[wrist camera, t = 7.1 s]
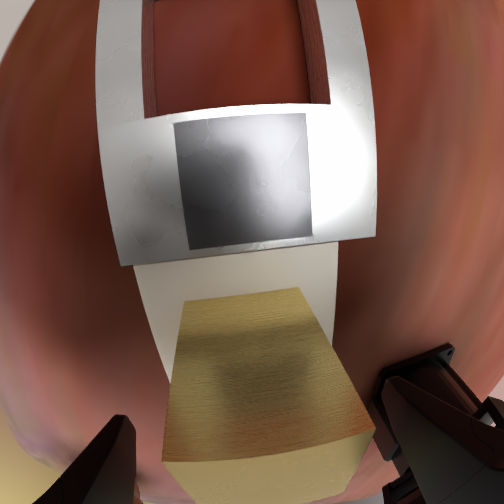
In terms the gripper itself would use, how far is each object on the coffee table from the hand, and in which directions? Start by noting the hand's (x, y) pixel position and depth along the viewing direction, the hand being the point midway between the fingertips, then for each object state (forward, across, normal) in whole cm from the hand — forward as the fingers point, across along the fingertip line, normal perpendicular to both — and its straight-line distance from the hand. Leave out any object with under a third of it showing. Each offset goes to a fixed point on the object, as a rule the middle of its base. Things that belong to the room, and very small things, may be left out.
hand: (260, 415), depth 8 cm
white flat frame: (+5, 0, -11) cm, 12 cm away
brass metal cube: (+4, 0, 0) cm, 4 cm away
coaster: (+5, 0, 0) cm, 5 cm away
